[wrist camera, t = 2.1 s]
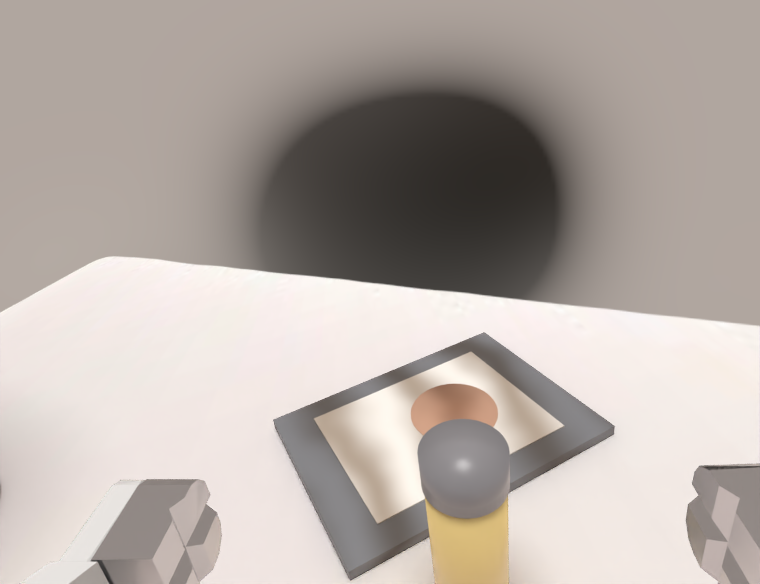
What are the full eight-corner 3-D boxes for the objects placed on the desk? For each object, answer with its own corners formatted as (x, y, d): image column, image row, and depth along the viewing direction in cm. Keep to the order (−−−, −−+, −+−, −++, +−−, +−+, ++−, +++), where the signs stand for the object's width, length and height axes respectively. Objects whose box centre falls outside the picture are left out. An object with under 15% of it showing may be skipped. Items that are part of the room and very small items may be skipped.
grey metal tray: (350, 580, 32) (347, 570, 32) (275, 427, 45) (272, 418, 45) (613, 434, 40) (614, 424, 39) (484, 338, 53) (484, 330, 52)
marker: (463, 659, 27) (449, 503, 22) (422, 592, 31) (401, 441, 25) (526, 617, 29) (529, 460, 23) (480, 557, 32) (473, 407, 27)
